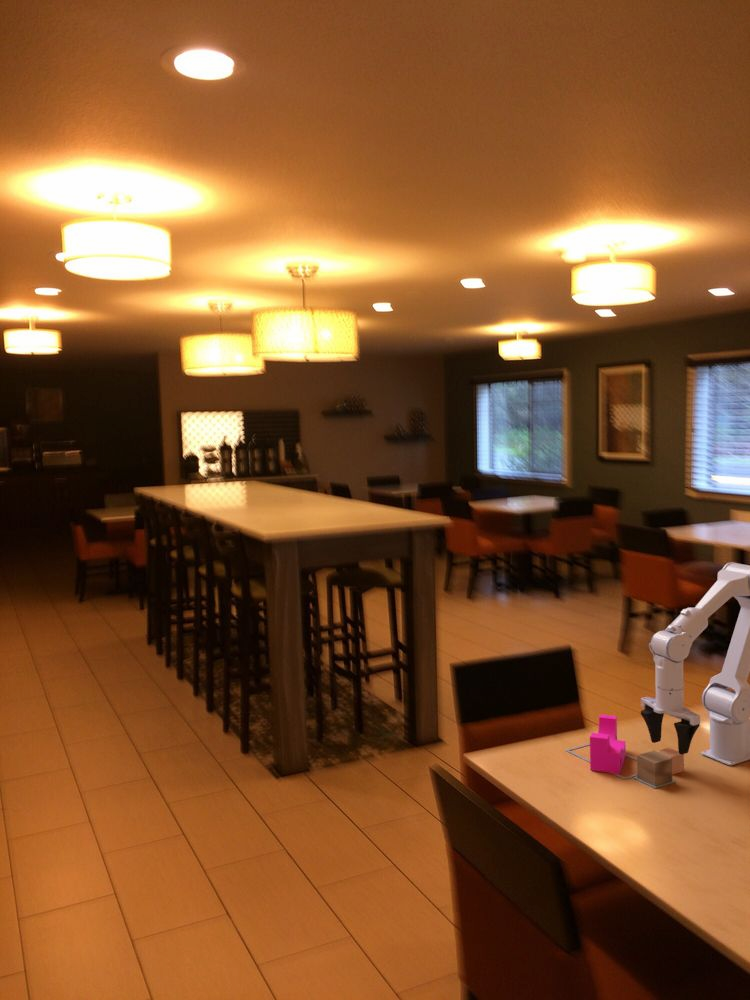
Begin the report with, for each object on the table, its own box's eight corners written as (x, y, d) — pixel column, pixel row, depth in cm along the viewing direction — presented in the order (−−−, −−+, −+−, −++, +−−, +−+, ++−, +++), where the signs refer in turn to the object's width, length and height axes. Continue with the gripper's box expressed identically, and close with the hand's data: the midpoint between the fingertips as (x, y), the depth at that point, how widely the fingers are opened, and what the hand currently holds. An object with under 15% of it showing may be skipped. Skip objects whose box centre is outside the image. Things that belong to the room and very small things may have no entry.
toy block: (619, 773, 171) (619, 740, 171) (590, 769, 174) (589, 736, 173) (628, 748, 185) (627, 717, 184) (600, 745, 188) (600, 714, 187)
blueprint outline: (597, 741, 190) (597, 741, 190) (682, 779, 168) (682, 778, 168) (565, 750, 185) (565, 749, 185) (648, 790, 163) (648, 790, 163)
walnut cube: (654, 772, 171) (653, 750, 171) (672, 781, 167) (672, 758, 166) (637, 777, 169) (636, 755, 169) (655, 786, 164) (654, 763, 164)
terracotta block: (669, 764, 176) (669, 747, 175) (683, 771, 172) (683, 753, 172) (656, 768, 174) (656, 751, 174) (670, 775, 170) (670, 757, 170)
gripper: (630, 681, 176) (631, 740, 177) (683, 698, 163) (683, 762, 164) (653, 676, 179) (653, 734, 180) (706, 693, 167) (706, 755, 168)
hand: (669, 747), depth 173 cm, fingers open, 7 cm apart
